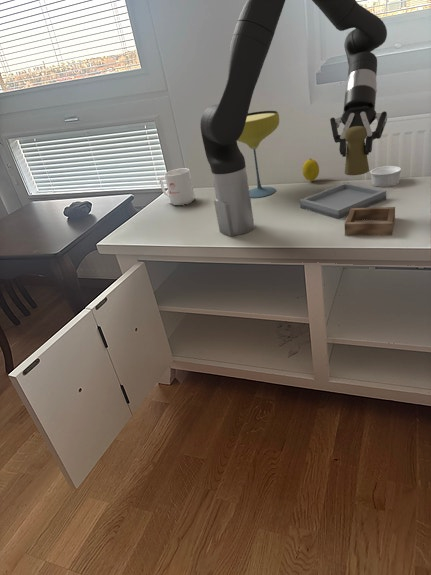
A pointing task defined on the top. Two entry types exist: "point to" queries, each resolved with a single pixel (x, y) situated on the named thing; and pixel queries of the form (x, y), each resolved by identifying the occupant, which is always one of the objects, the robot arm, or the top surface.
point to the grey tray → (342, 199)
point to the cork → (356, 151)
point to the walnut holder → (370, 227)
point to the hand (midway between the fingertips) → (355, 154)
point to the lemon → (310, 169)
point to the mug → (178, 186)
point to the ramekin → (385, 176)
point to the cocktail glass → (253, 134)
